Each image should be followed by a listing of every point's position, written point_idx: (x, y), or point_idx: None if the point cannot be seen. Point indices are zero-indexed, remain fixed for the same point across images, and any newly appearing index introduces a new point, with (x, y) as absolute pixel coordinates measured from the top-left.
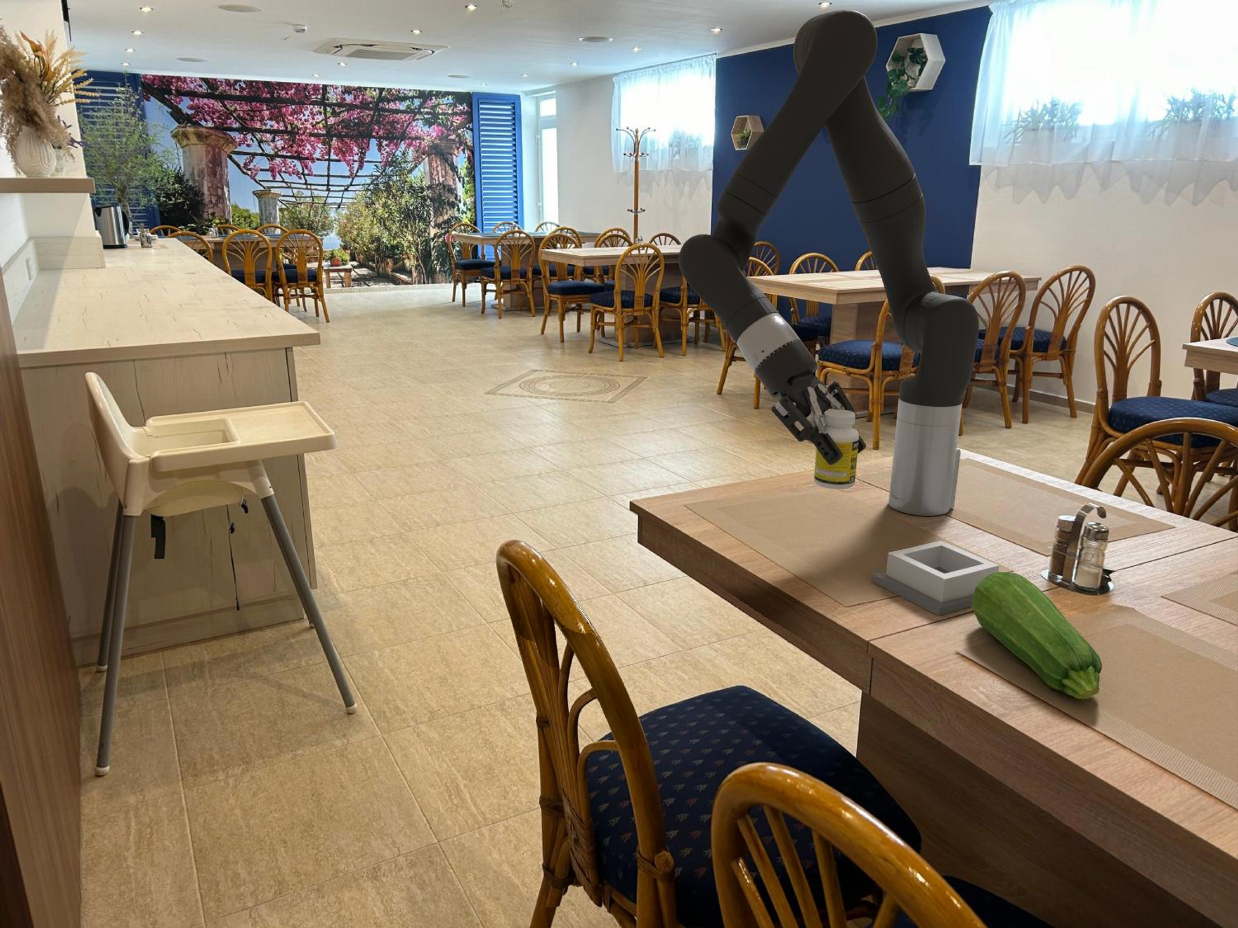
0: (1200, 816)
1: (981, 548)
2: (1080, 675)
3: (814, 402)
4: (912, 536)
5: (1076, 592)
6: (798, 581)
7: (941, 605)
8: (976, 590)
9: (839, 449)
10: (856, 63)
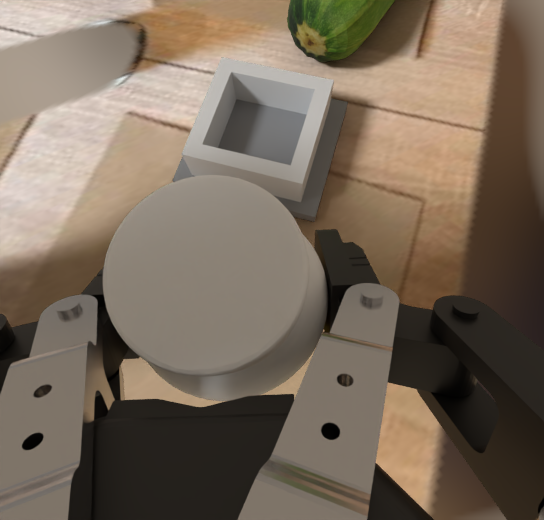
0: None
1: (65, 176)
2: None
3: (321, 438)
4: (81, 276)
5: (147, 40)
6: (408, 302)
7: (338, 104)
8: (355, 25)
9: (318, 239)
10: None
